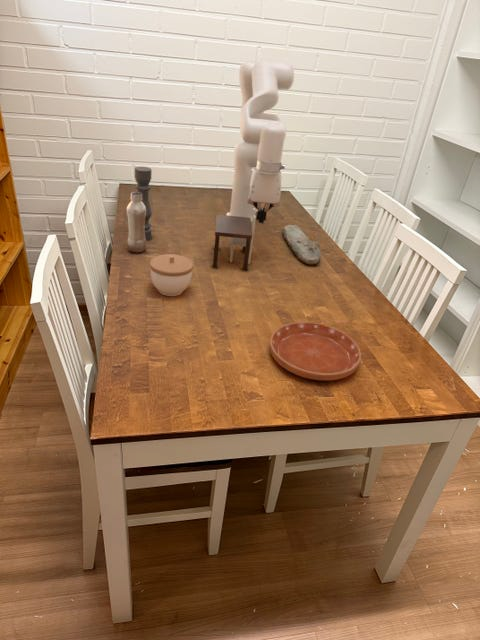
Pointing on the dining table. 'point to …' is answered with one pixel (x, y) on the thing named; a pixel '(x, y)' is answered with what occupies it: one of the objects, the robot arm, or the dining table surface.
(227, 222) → the toy table
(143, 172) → the candle holder
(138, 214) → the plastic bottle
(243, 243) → the chair
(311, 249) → the long grey stone
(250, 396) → the dining table surface
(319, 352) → the saucer
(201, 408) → the dining table surface
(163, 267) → the lidded bowl
